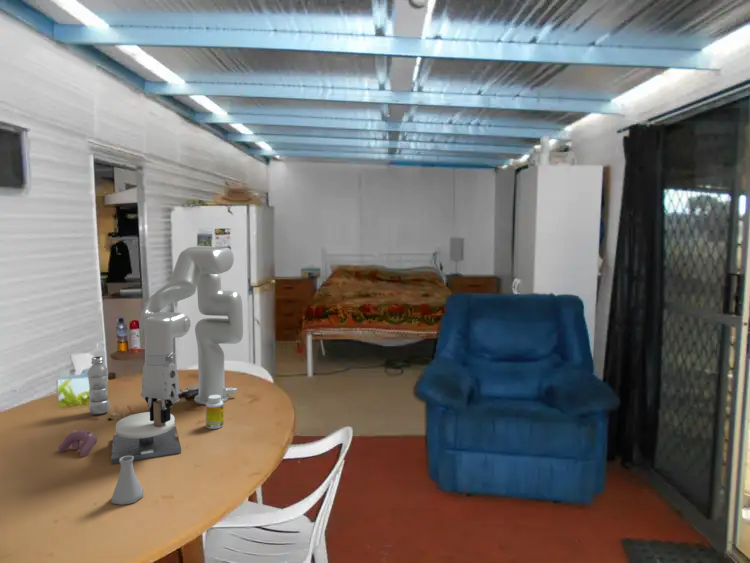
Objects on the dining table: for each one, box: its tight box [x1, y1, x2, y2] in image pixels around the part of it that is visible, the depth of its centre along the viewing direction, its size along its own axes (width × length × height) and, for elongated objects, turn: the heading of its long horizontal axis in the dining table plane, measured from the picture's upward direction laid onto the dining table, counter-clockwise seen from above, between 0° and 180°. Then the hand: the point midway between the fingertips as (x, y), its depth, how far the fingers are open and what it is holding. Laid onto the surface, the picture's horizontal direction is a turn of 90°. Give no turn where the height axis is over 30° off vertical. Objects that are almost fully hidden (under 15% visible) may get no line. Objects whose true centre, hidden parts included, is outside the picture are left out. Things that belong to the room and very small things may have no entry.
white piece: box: [115, 399, 176, 438], centre depth 150 cm, size 16×16×9 cm
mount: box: [111, 425, 182, 465], centre depth 150 cm, size 18×18×6 cm
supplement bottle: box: [205, 395, 224, 430], centre depth 167 cm, size 6×6×10 cm
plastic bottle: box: [87, 356, 111, 415], centre depth 176 cm, size 6×7×20 cm
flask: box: [110, 456, 144, 506], centre depth 121 cm, size 7×7×10 cm
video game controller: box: [58, 429, 98, 458], centre depth 146 cm, size 10×5×7 cm, turn 71°
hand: (160, 420), depth 147 cm, fingers open, 3 cm apart
